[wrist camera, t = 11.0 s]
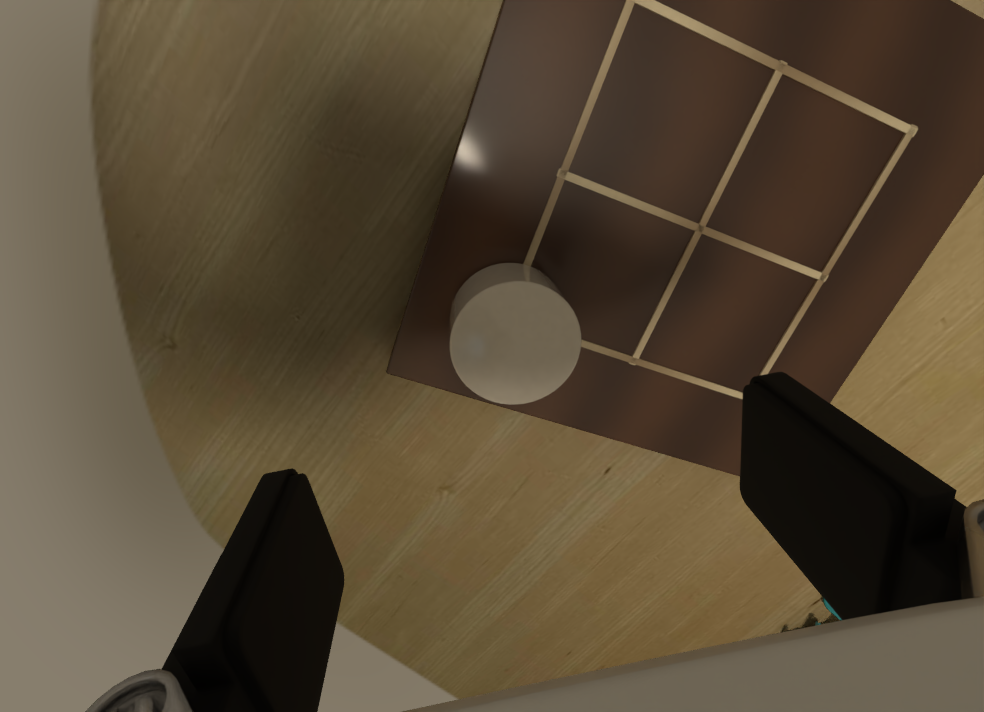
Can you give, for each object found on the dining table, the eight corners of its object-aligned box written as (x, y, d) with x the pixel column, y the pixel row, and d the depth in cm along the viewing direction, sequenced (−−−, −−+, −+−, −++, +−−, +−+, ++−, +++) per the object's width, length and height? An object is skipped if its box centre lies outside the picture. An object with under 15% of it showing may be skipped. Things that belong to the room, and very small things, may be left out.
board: (389, 359, 23) (385, 374, 22) (561, -184, 17) (572, -216, 15) (757, 469, 27) (775, 488, 26) (1019, 66, 20) (1064, 60, 19)
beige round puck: (434, 353, 22) (432, 384, 19) (472, 245, 20) (475, 262, 17) (539, 385, 23) (551, 419, 20) (583, 284, 21) (603, 306, 18)
